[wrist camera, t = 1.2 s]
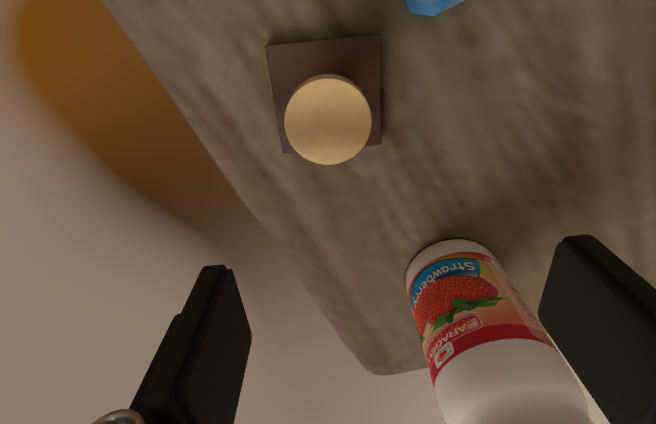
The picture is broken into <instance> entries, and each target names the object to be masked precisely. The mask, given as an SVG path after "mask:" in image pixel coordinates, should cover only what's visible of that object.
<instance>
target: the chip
mask: <svg viewBox="0 0 656 424" xmlns="http://www.w3.org/2000/svg"><path fill="white" fill-rule="evenodd" d="M284 127H285V132H286V135H287V138H288V140H289V142H290V144H291V145H292V147H293V148H294V149H295V150H296V152H297V153H299V154H300V155H301V156H302V157H304V158H305V159H307V160H309V161H311V162H314V163H318V164H324V165H332V164H338V163H342V162H344V161H347V160H349V159H350V158H352V157H354V156H355V155H356V154H357V153H358V152H359V151H360V150H361V149H362V148H363V147H364V145H365V144H366V142H367V140H368V138H369V135H370V132H371V127H372V115H371V110H370V107H369V104H368V102H367V100H366V97H365V96H364V94H363V92H362V91H361V90H360V88H359V87H358V86H357V85H356V84H355V83H353V82H352V81H350V80H349V79H347V78H345V77H342V76H339V75H335V74H321V75H317V76H313V77H311V78H309V79H307V80H305V81H304V82H302V83H301V84H300V85H299V86H298V87H297V88H296V89H295V91H294V92H293V94H292V95H291V97H290V99H289V102H288V104H287V107H286V111H285V116H284Z"/></svg>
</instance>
